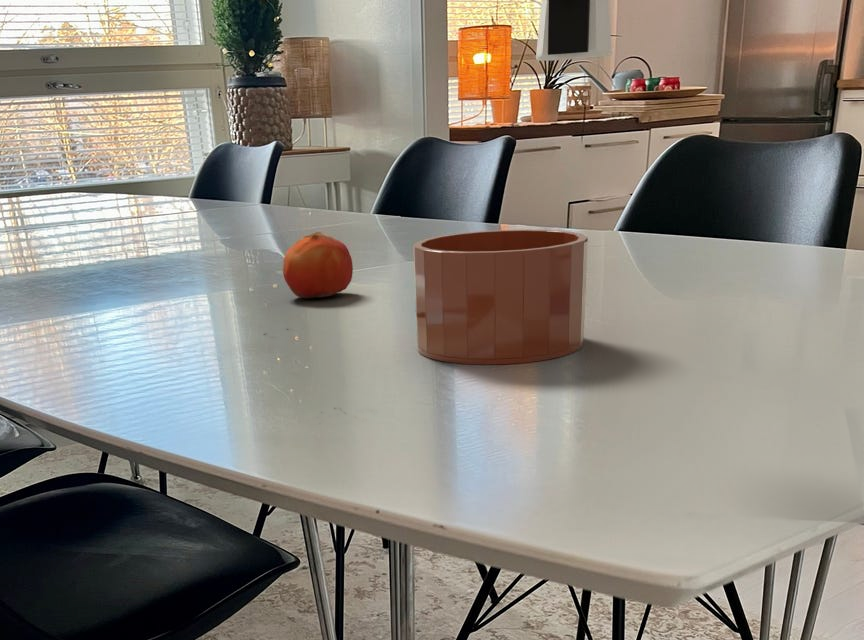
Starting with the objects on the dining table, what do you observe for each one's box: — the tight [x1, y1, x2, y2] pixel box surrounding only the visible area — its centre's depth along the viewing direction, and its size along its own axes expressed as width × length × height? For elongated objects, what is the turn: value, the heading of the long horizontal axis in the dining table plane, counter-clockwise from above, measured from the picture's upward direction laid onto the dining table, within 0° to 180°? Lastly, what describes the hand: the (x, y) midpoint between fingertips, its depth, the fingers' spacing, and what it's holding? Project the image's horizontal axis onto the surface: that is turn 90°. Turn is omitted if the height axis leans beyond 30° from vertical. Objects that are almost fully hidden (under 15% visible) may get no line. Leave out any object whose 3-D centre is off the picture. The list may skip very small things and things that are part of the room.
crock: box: [412, 229, 589, 366], centre depth 101 cm, size 17×17×10 cm
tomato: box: [282, 231, 354, 299], centre depth 134 cm, size 9×9×8 cm
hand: (573, 53), depth 73 cm, fingers closed on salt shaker, 5 cm apart
